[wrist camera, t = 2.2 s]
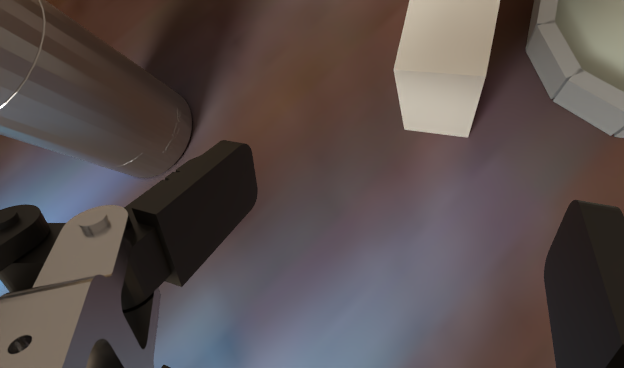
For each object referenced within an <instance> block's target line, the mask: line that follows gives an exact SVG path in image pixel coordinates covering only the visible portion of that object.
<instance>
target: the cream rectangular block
mask: <svg viewBox="0 0 624 368" xmlns="http://www.w3.org/2000/svg"><path fill="white" fill-rule="evenodd" d="M499 5H500V0H410V1H409V5H408V10H407V14H406V18H405V23H404V27H403V31H402V36H401V40H400V44H399V49H398V53H397V57H396V62H395V66H394V74H395V80H396V85H397V91H398V97H399V102H400V108H401V113H402V119H403V124H404V129H406V130H413V131H421V132H429V133H437V134H445V135H452V136H460V137H468V136H469V133H470V129H471V126H472V122H473V119H474V116H475V112H476V109H477V105H478V102H479V98H480V95H481V91H482V88H483V85H484V81H485V78H486V73H487V68H488V63H489V57H490V52H491V47H492V42H493V36H494V31H495V26H496V20H497V15H498V10H499Z"/></svg>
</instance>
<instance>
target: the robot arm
mask: <svg viewBox="0 0 624 368" xmlns="http://www.w3.org/2000/svg"><path fill="white" fill-rule="evenodd" d="M191 130H192V117H191V111H190V109H189V106H188V104H187V102H186V101H185V100H184V98H183V97H182V96H181V95H179V94H178V93H177V92H175V91H174V90H172V89H171V88H169V87H168V86H167V85H165V84H164V83H162V82H161V81H159V80H158V79H157V78H155V77H154V76H152V75H151V74H150V73H148V72H147V71H146V70H144V69H143V68H141V67H140V66H138V65H137V64H136V63H134V62H133V61H131V60H130V59H128V58H127V57H125V56H124V55H123V54H121V53H120V52H118V51H117V50H115V49H114V48H113V47H111V46H110V45H108V44H107V43H105V42H104V41H103V40H101V39H100V38H98V37H97V36H95V35H94V34H93V33H91V32H90V31H88V30H87V29H85V28H84V27H83V26H81V25H80V24H78V23H77V22H75V21H74V20H72V19H71V18H70V17H68V16H67V15H65V14H64V13H62V12H61V11H60V10H58V9H57V8H55V7H54V6H52V5H51V4H50V3H48V2H47V1H45V0H0V134H1V135H4V136H7V137H10V138H13V139H17V140H20V141H23V142H26V143H29V144H32V145H36V146H39V147H42V148H45V149H48V150H52V151H55V152H58V153H61V154H64V155H68V156H71V157H74V158H77V159H80V160H83V161H87V162H90V163H93V164H96V165H99V166H102V167H105V168H108V169H112V170H115V171H118V172H121V173H124V174H128V175H131V176H134V177H138V178H150V177H154V176H157V175H159V174H161V173H163V172H165V171H167V170H168V169H169V168H170V167H172V166H173V165H174V164H175V163H176V162H177V160H178V159H179V158H180V157H181V155H182V154H183V152H184V150H185V149H186V147H187V144H188V142H189V139H190V135H191ZM256 199H257V183H256V176H255V169H254V163H253V156H252V151H251V148H250V147H249V145H247V144H244V143H238V142H232V141H226V140H223V141H220V142H219V143H217V144H216V145H215V146H213V147H212V148H211V149H209V150H208V151H207V152H205V153H204V154H203V155H201V156H199V157H196V158H194V159H191V160H189V161H188V162H186V163H185V164H183V165H182V166H181V167H179V168H178V169H177V170H176V172H172V173H171V174H170V175H168V176H167V177H166V178H165V180H162V181H160V182H159V183H157V184H156V185H155V186H153V187H152V188H151V189H149V190H148V191H146V192H145V193H144V194H142V195H141V196H140V197H138V198H137V199H136V200H134V201H133V202H131V203H130V204H129V205H127V206H126V207H125V208H123V207H120V206H116V205H106V206H99V207H95V208H92V209H89V210H86V211H84V212H82V213H80V214H78V215H76V216H75V217H73V218H72V219H71V220H69V221H68V222H67V223H47V222H46V220H45V218H44V216H43V215H42V213H41V211H40V209H39V208H38V207H36V206H34V205H17V206H12V207H8V208H5V209H2V210H0V280H1V281H2V282H3V284H4V285H5V286H6V288H7V289H8V290H9V292H10V293H6V294H4V295H2V296H1V297H0V368H154V361H153V359H154V349H155V340H156V332H157V323H158V315H159V307H160V298H161V294H160V290H159V288H158V287H159V286H160V285H161V284H162V283H163V282H164V281H166V282H169V283H172V284H175V285H178V286H180V287H182V286H183V285H184V284H185V283H186V282H187V281H188V280H189V278H190V277H191V276H192V275H193V274H194V273H195V272H196V271H197V270H198V268H199V267H200V266H201V265H202V264H203V263H204V262H205V261H206V259H207V258H208V257H209V256H210V255H211V254H212V253H213V252H214V251H215V249H216V248H217V247H218V246H219V245H220V244H221V243H222V242H223V241H224V239H225V238H226V237H227V236H228V235H229V234H230V233H231V232H232V230H233V229H234V228H235V227H236V226H237V225H238V224H239V223H240V222H241V220H242V219H243V218H244V217H245V216H246V215H247V214H248V213H249V211H250V210H251V209H252V208H253V206H254V204H255V202H256ZM544 282H545V289H546V296H547V303H548V310H549V318H550V325H551V332H552V339H553V347H554V354H555V361H556V368H624V216H623V214H622V212H621V210H620V209H619V208H618V207H614V206H609V205H603V204H597V203H591V202H585V201H579V200H574V201H572V202H571V203H570V205H569V207H568V209H567V211H566V213H565V215H564V218H563V220H562V222H561V224H560V227H559V229H558V231H557V234H556V236H555V238H554V240H553V243H552V245H551V247H550V250H549V252H548V255H547V258H546V262H545V269H544ZM162 368H170V367H168V366H166V365H163V366H162Z"/></svg>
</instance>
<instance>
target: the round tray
mask: <svg viewBox="0 0 624 368" xmlns="http://www.w3.org/2000/svg"><path fill="white" fill-rule="evenodd" d="M526 49H527V50H526V53H527V55H528V57H529V58H530V60H531V62H532V64H533V66H534V68H535V70H536V72H537V74H538V76H539V77H540V79H541V81H542V83H543V85H544V87H545V89H546V91H547V93H548V95H549V96H550V98H551V99H553V98H555V99H554V100H553V102H555V103H557V104H558V105H560V106H562V107H563V108H565V109H567V110H568V111H570V112H572V113H573V114H575V115H577V116H579V117H580V118H582V119H584V120H585V121H587V122H589V123H590V124H592V125H594V126H595V127H597V128H599V129H600V130H602V131H604V132H605V133H607V134H609V135H610V136H611V135H612V134H614V137H620V138H624V0H534V3H533V9H532V15H531V21H530V26H529V32H528V38H527V44H526Z"/></svg>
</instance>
